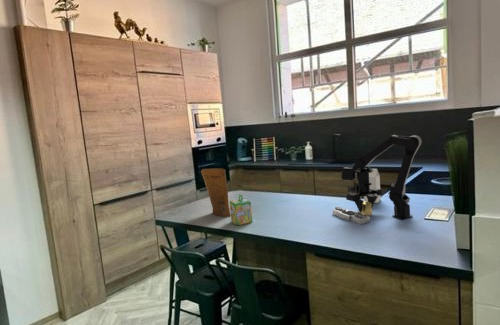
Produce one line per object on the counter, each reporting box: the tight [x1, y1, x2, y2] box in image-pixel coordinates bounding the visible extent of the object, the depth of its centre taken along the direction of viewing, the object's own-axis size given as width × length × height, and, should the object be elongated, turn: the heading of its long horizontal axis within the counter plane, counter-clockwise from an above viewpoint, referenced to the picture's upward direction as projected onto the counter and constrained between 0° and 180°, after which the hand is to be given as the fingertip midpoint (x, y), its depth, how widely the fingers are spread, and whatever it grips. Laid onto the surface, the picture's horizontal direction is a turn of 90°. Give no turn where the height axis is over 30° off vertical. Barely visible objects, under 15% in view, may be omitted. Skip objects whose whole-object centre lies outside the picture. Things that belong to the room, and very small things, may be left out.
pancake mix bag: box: [200, 167, 231, 218], centre depth 195 cm, size 7×19×28 cm, turn 45°
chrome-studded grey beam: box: [332, 206, 371, 225], centre depth 167 cm, size 22×8×3 cm, turn 23°
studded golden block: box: [358, 200, 373, 216], centre depth 170 cm, size 5×4×7 cm
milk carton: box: [363, 168, 382, 204], centre depth 191 cm, size 7×7×19 cm
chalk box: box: [229, 193, 253, 226], centre depth 178 cm, size 9×9×15 cm
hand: (365, 211), depth 171 cm, fingers open, 6 cm apart
